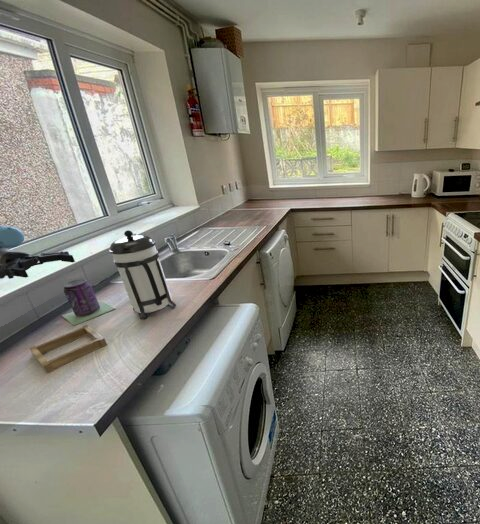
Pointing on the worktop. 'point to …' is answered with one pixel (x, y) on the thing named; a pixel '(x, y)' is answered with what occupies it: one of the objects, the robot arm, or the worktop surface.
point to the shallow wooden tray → (70, 355)
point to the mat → (79, 319)
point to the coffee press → (141, 273)
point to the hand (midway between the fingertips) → (50, 265)
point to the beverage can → (81, 297)
